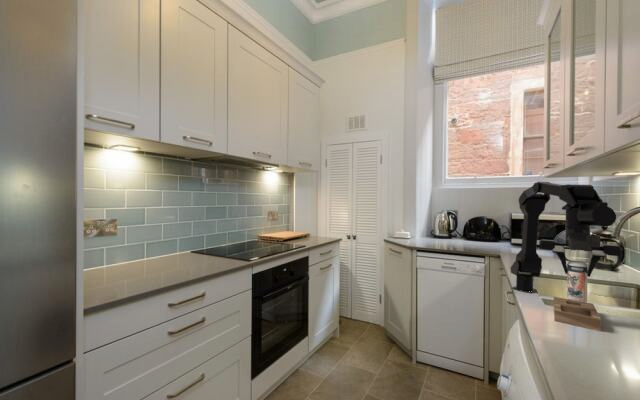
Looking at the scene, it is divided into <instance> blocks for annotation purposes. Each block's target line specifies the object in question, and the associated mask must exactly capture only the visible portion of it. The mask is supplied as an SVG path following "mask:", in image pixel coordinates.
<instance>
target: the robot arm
mask: <svg viewBox="0 0 640 400" xmlns="http://www.w3.org/2000/svg"><path fill="white" fill-rule="evenodd" d="M551 196H555V197H558V199H559V200H560V201H562V202H564V203H566V204H564V205H563V206H562V207H561V210H562V211H565V231H564V232H565V239H564V240H565V242H564V243H563V242H556V241H555V239H554V240H553V239H540V240H539V242H538V237H539V236H538V235H539V234H538V233H539V221H540V220H539V218H540V216H541V214H542V213H543V212H544V211H545V209H546V204H547V203H548V202H549V201H550V200H551ZM518 203H519V210H520V211H521V213H522V215H523V223H522V238H521V250H520V251H519V252H518V253H517V254H516V256H515V260H514V262H513V263H512V265H511V266H510V273H511V274H513V275H515V276H516V277H515V278H516V280H515V286H513V287H511V288H512V289H513V290H516V289H518V290H517V291H520V290H523V291H522V292H524V291H527V292H526V293H528V292H529V291H530V292H531V291H535V292H537V291H538V289H535V288H534V277H537V278H539V277H540V276H541V271H542V269H543V266H542V262H543V259H542V257H540V256H539V253H537V247H538V244H539V247H538V248H539V249H540V250H548V251H551V252H552V253H553V254H556V255H557V257H558V258H559V260H560V262H561V265H562V268H563V271H564V273H565V275H567V259H566V252H565V251H564V250H570V251H582V252H583V251H584V252H590V253H589V257H588V258H589V259H588V264H587V266H588V271H587V278H590V277H591V276H592V274H593V272H594V269H595V266H596V265H597V264H598V262H599V261H600V260H601V259H602V258H603V259H604V258H605V259H606V258H607V256H612V257H613V256H614V257H623V255H624V252H623V247H621V246H620V245H617V244H609V243H607V244H606V243H601V235H600V234H591V226H592V227H604V228H605V227H609V226H612V225H613V224H615V222H616V220H617V214H616V212H615V210H614V209H612V208H611V207H610V206H608V205H609V204H608V202H607V201H605V202H604V201H603V199H601V197H600V196H599V194H598V192H597V191H596V189H595V188H594V186H593V185H591V184H569V183H568V184H558V183H553V182H550V181H537V182H534V184H533V185H532V186H530V187H529V188H527V189H526V190H523V192H522V193H521V194H520V196H519V197H518ZM606 255H607V256H606ZM531 293H532V292H531Z"/></svg>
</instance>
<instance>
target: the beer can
mask: <svg viewBox="0 0 640 400" xmlns="http://www.w3.org/2000/svg"><path fill="white" fill-rule="evenodd" d="M566 265H567V274H566V299H569V300H570V301H573V302H578V303H585V302H587V303H588V275H587V271H588V264H587V263H586V262H585V261H578V260H568V262H567V263H566Z"/></svg>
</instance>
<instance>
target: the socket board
mask: <svg viewBox="0 0 640 400" xmlns="http://www.w3.org/2000/svg"><path fill="white" fill-rule="evenodd" d="M553 316H554V317H553V319H554V322H557V323H562V324H567V325H572V326H576V327H579V328H580V327H581V328H586V329H588V330H589V329H590V330H594V331H599V332H602V318H601V317H600V315H599V313H598V310H597V309H596V306H595V305H594V303H590V302H588V301H587V302H585V303H578V302H573V301H570V300H569V299H568V298H562V297H558V296H553Z"/></svg>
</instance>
